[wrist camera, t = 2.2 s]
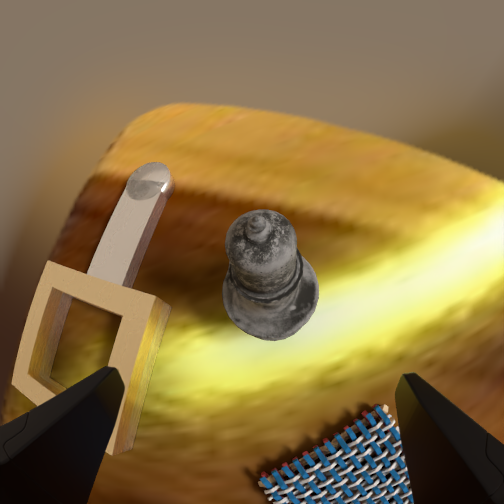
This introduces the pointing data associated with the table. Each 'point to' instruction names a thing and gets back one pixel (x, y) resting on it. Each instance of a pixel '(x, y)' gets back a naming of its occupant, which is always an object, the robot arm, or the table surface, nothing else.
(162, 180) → the cream handled frame
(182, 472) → the table surface
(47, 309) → the square wooden loop
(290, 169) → the table surface
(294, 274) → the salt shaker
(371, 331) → the table surface
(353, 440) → the woven mat
